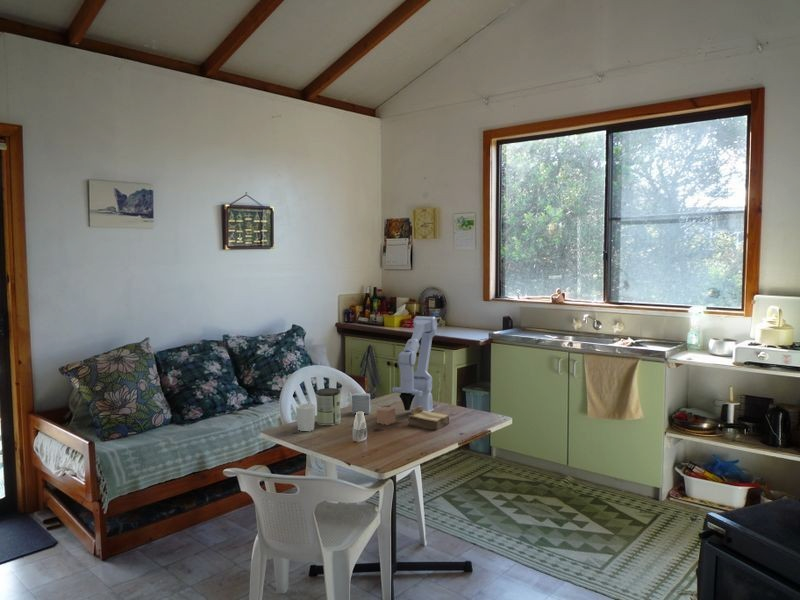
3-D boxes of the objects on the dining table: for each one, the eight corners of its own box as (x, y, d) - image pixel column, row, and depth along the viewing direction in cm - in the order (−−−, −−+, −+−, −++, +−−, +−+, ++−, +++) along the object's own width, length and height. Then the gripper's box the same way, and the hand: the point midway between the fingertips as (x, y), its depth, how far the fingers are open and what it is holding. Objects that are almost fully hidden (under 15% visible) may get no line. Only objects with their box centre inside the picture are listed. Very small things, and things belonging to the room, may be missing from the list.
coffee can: (318, 419, 273) (317, 388, 271) (341, 419, 273) (340, 387, 272) (315, 426, 262) (314, 393, 261) (340, 425, 263) (339, 393, 262)
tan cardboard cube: (384, 420, 270) (384, 406, 270) (395, 422, 267) (395, 408, 267) (377, 423, 266) (376, 409, 265) (387, 425, 263) (387, 411, 262)
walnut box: (421, 419, 271) (421, 412, 271) (449, 424, 263) (449, 416, 263) (408, 424, 263) (408, 417, 263) (436, 430, 255) (436, 422, 254)
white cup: (319, 429, 258) (318, 405, 257) (304, 433, 252) (303, 409, 251) (307, 425, 263) (307, 402, 262) (292, 429, 258) (292, 406, 257)
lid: (421, 411, 271) (421, 404, 270) (449, 416, 263) (448, 409, 262) (408, 416, 262) (408, 409, 262) (436, 421, 254) (436, 414, 254)
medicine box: (370, 411, 285) (370, 393, 284) (369, 414, 280) (368, 395, 279) (353, 411, 285) (353, 393, 285) (352, 414, 281) (351, 395, 280)
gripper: (388, 379, 269) (388, 409, 270) (415, 382, 260) (416, 414, 261) (397, 376, 274) (397, 406, 275) (424, 379, 266) (425, 410, 267)
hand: (407, 410), depth 269 cm, fingers closed
